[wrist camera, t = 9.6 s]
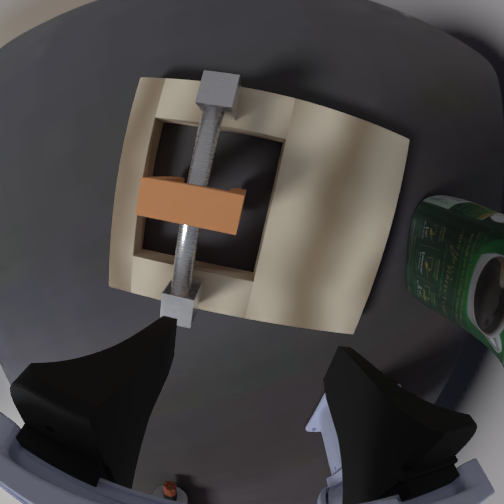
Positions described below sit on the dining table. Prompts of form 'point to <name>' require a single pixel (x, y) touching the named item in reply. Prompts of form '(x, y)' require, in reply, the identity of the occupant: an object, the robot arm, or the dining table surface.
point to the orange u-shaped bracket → (190, 203)
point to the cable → (171, 492)
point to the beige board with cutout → (274, 209)
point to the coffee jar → (459, 265)
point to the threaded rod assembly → (213, 112)
